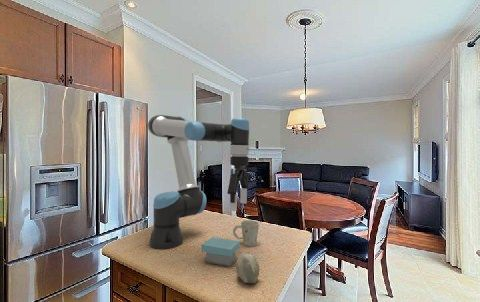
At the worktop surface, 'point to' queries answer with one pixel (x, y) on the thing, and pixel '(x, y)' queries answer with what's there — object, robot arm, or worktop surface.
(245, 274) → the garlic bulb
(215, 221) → the worktop surface
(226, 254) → the lid
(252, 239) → the mug
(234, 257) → the box
